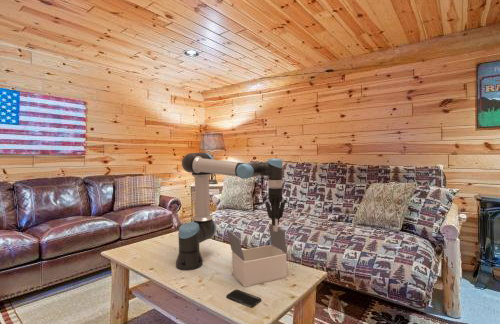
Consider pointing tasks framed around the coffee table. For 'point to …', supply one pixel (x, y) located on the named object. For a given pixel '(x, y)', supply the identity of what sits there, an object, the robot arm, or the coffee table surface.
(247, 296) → the phone
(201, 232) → the robot arm
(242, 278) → the carton
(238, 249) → the flap
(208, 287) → the coffee table surface
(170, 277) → the coffee table surface
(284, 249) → the flap
